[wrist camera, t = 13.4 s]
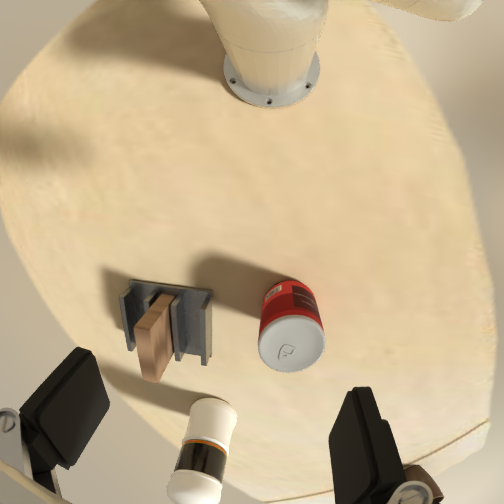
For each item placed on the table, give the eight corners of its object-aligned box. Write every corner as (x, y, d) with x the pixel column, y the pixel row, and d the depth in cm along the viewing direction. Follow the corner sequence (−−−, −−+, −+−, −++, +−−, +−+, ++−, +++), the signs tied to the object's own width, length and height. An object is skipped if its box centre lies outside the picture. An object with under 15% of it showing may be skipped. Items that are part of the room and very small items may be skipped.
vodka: (221, 390, 47) (183, 538, 18) (246, 418, 49) (226, 553, 20) (182, 401, 49) (134, 529, 20) (209, 427, 51) (177, 548, 22)
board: (161, 293, 41) (133, 327, 32) (175, 295, 41) (149, 330, 31) (165, 342, 44) (143, 380, 34) (178, 344, 44) (157, 383, 34)
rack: (131, 279, 42) (118, 290, 38) (212, 290, 41) (205, 303, 37) (138, 341, 45) (129, 355, 41) (212, 354, 45) (206, 370, 40)
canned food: (258, 322, 42) (253, 369, 32) (266, 274, 40) (263, 312, 29) (308, 329, 42) (315, 376, 31) (320, 282, 39) (333, 321, 29)
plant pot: (390, 469, 54) (400, 511, 39) (435, 452, 52) (449, 491, 37) (386, 486, 58) (393, 522, 43) (426, 471, 56) (437, 505, 41)
